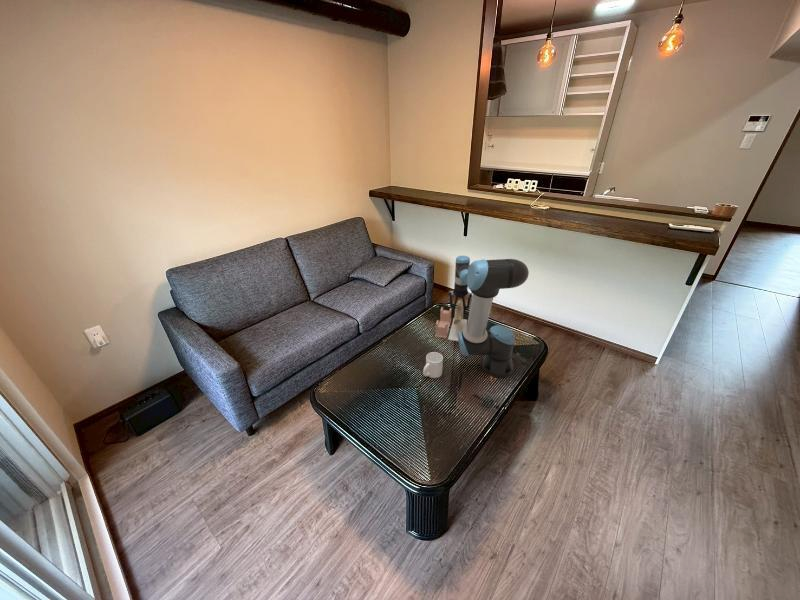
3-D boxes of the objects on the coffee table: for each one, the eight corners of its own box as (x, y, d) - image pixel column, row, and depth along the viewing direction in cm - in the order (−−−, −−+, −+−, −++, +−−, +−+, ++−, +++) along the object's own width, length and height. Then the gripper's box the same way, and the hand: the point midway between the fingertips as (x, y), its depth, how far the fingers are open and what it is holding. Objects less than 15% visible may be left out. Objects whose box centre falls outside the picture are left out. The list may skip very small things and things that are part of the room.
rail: (463, 306, 191) (464, 301, 189) (459, 325, 173) (460, 319, 171) (458, 305, 192) (458, 300, 190) (453, 324, 174) (454, 319, 172)
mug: (429, 385, 147) (429, 368, 142) (417, 376, 153) (417, 360, 148) (445, 373, 154) (446, 357, 149) (433, 365, 160) (434, 349, 155)
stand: (451, 319, 198) (452, 307, 193) (446, 338, 180) (447, 325, 176) (440, 318, 199) (441, 306, 195) (435, 336, 182) (435, 324, 178)
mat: (467, 320, 196) (467, 319, 196) (463, 342, 176) (463, 341, 176) (453, 318, 199) (453, 318, 198) (447, 340, 178) (448, 339, 178)
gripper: (476, 281, 173) (473, 315, 184) (447, 278, 177) (446, 312, 189) (475, 286, 167) (472, 322, 178) (445, 284, 171) (444, 319, 182)
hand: (458, 317), depth 183 cm, fingers closed on rail, 3 cm apart
